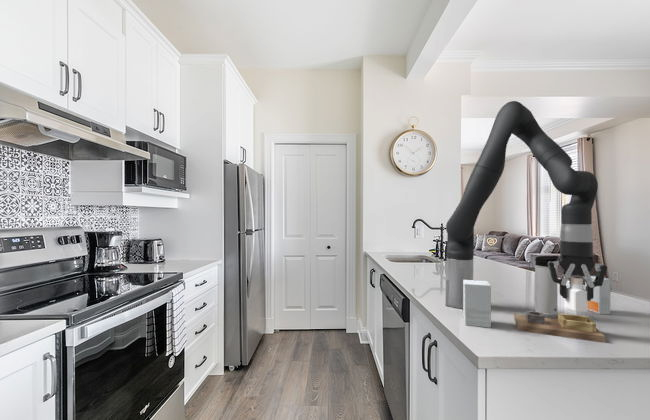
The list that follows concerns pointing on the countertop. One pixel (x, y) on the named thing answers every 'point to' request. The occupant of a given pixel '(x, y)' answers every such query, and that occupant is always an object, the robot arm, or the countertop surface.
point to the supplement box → (477, 303)
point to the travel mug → (545, 287)
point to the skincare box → (600, 298)
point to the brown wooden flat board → (559, 326)
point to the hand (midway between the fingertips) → (576, 298)
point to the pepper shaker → (576, 296)
